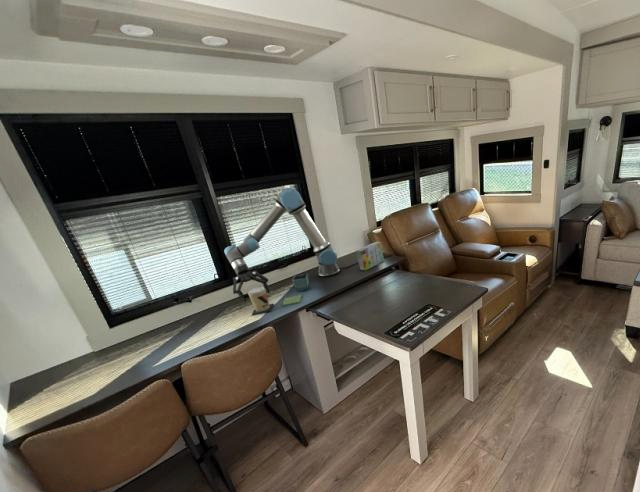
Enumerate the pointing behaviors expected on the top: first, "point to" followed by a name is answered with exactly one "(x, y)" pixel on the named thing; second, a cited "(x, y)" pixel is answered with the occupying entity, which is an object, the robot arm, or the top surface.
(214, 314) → the top surface
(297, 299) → the sage mat
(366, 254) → the snack box
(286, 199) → the robot arm
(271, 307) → the slate mat
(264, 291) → the coffee cup
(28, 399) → the top surface
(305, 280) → the flower pot
